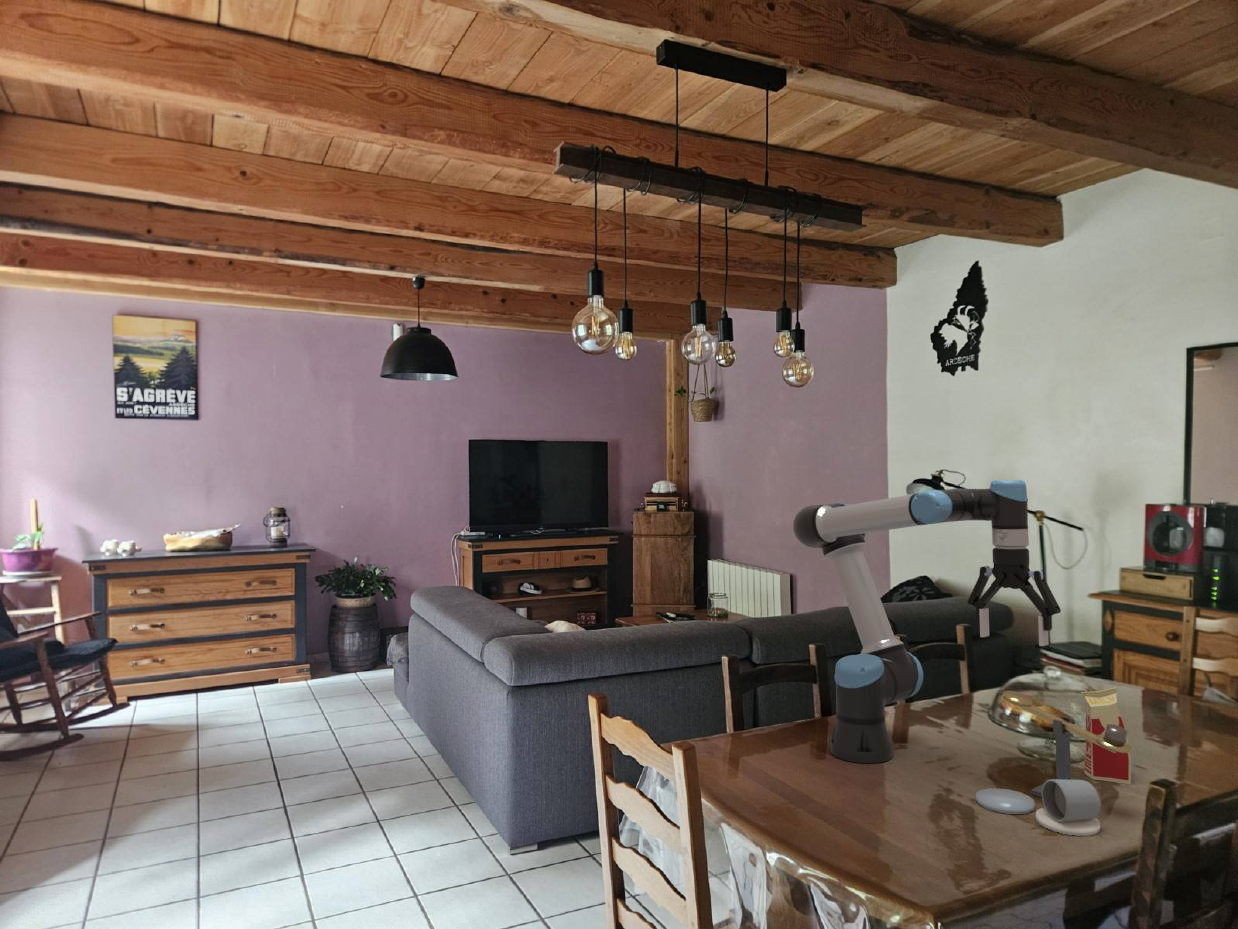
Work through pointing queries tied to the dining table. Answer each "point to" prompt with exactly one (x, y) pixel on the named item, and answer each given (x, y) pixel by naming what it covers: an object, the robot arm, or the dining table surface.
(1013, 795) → the plate near greyblue
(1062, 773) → the balance stand
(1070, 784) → the ceramic mug
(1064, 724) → the balance beam
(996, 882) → the dining table surface
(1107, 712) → the milk carton
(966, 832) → the dining table surface
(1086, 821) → the plate far cream
